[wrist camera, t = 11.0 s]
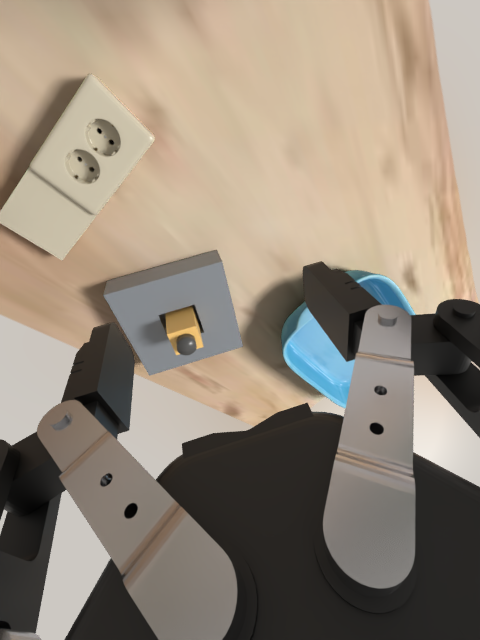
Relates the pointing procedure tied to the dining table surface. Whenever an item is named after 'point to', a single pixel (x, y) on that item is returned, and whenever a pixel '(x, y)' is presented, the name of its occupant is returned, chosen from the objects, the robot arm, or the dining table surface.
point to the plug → (183, 330)
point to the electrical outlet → (76, 169)
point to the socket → (172, 294)
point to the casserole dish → (318, 350)
